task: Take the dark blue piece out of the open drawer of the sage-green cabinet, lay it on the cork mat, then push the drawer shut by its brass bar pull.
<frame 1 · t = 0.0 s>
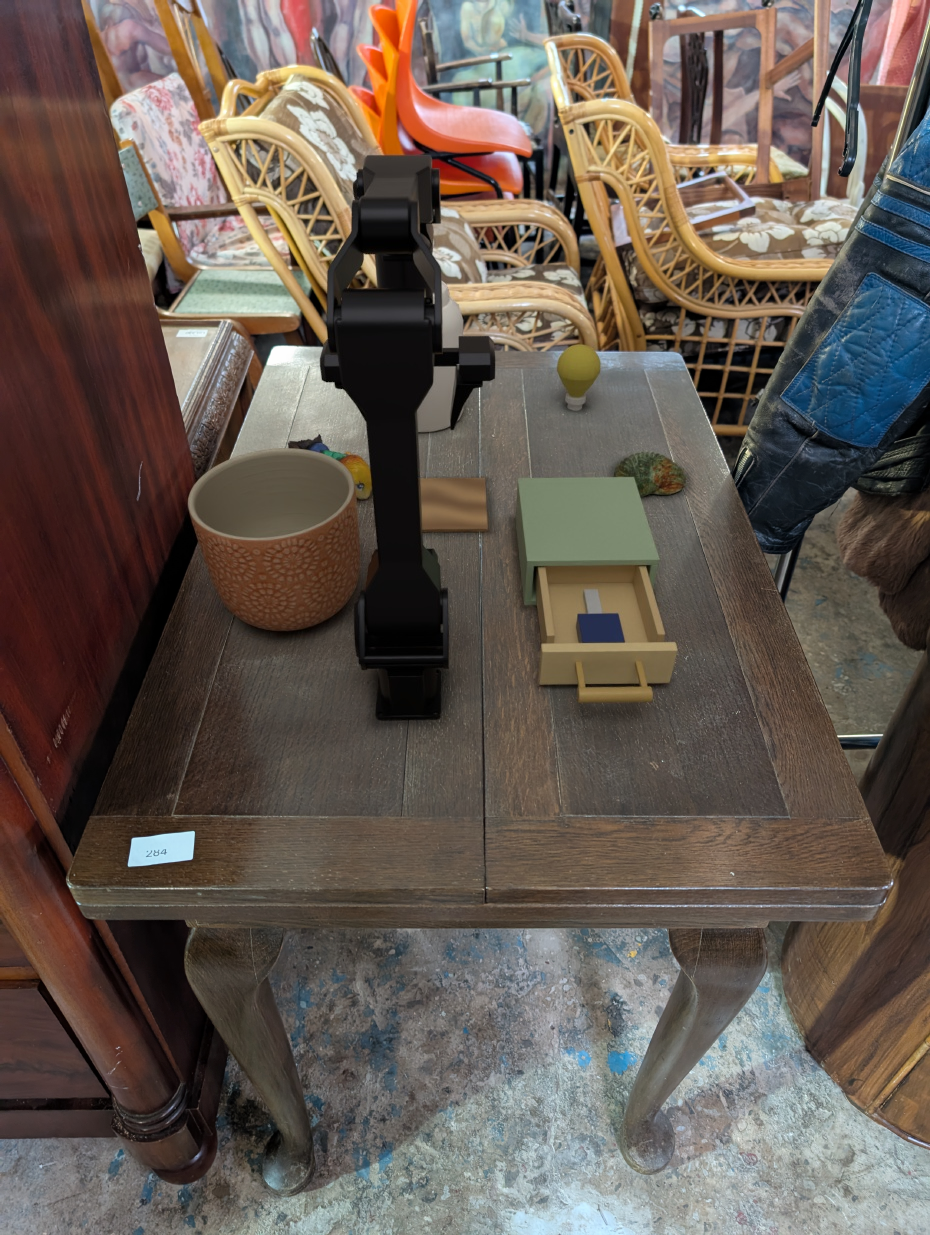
hand: (412, 428, 92), 15 cm above the table, tool pointing down, fingers open, 9 cm apart
light bulb: (574, 408, 127), on the table
figurine: (333, 487, 110), on the table
mat: (441, 505, 106), on the table
planter: (294, 601, 92), on the table
can: (423, 415, 125), on the table
dark blue piece: (595, 626, 86), point 2 cm above the table, touching drawer
cabinet: (578, 560, 98), on the table
seashell: (648, 480, 111), on the table
drawer: (600, 631, 84), point 3 cm above the table, slide at 12.0 cm, touching dark blue piece
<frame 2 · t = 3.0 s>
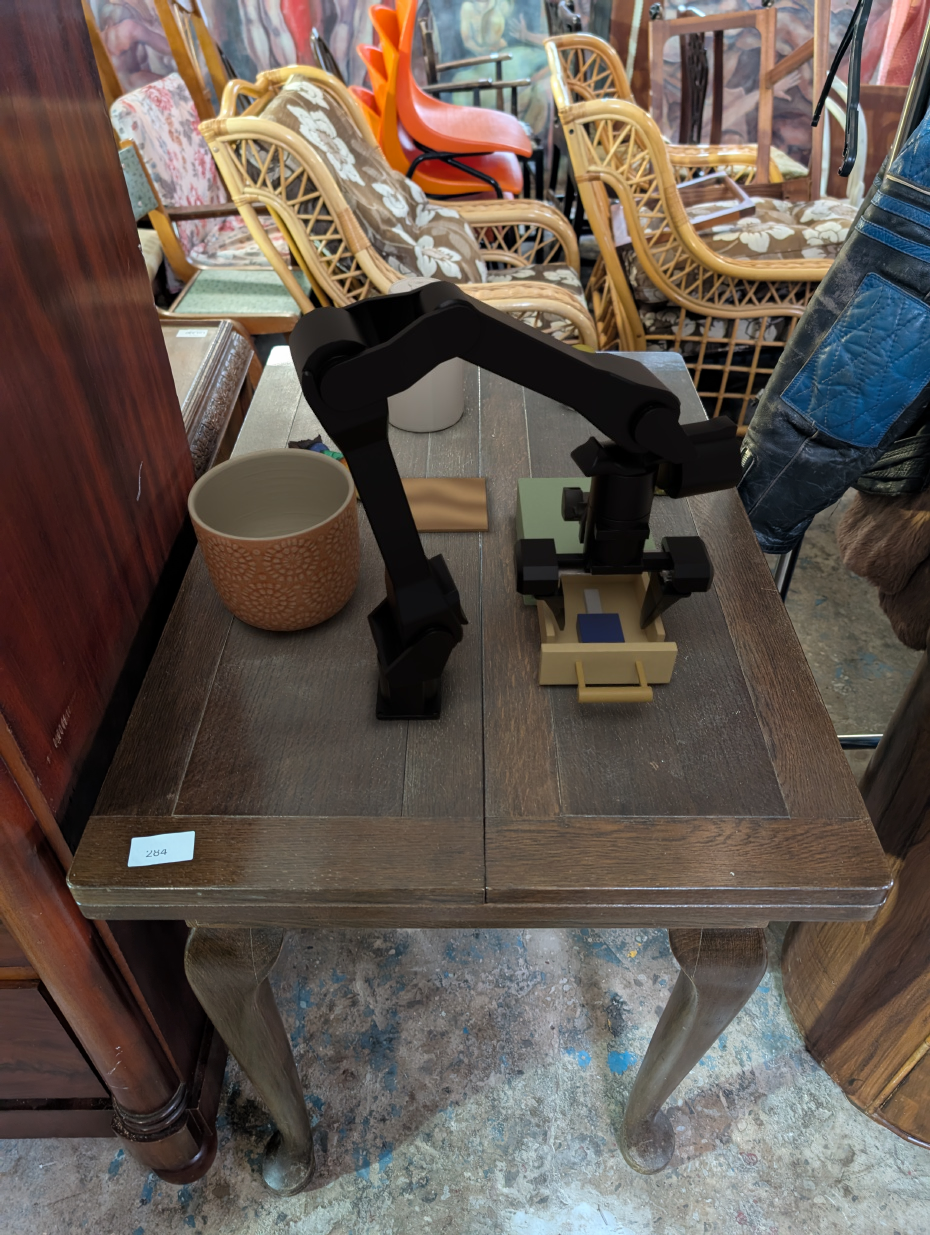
hand: (601, 627, 83), 4 cm above the table, tool pointing down, fingers open, 8 cm apart
drawer: (600, 631, 84), point 3 cm above the table, slide at 12.0 cm, touching gripper, dark blue piece
everything else where it was.
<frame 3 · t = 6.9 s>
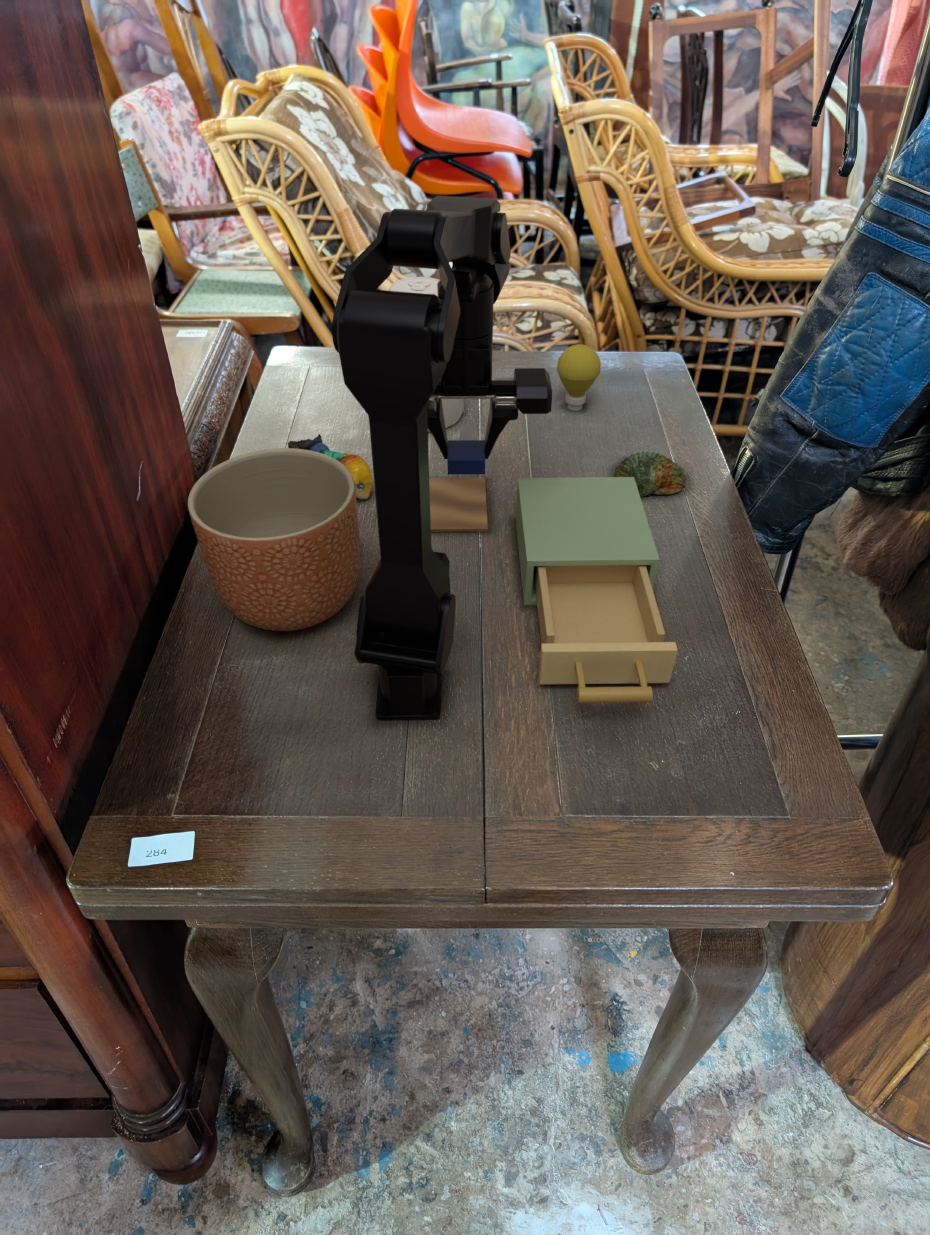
hand: (466, 457, 94), 11 cm above the table, tool pointing down, fingers closed on dark blue piece, 4 cm apart
dark blue piece: (466, 454, 96), point 10 cm above the table, touching gripper
drawer: (600, 631, 84), point 3 cm above the table, slide at 12.0 cm
everything else where it was.
when the fingers open (2 cm above the table, at t = 10.0 s): dark blue piece stays where it is, resting on mat.
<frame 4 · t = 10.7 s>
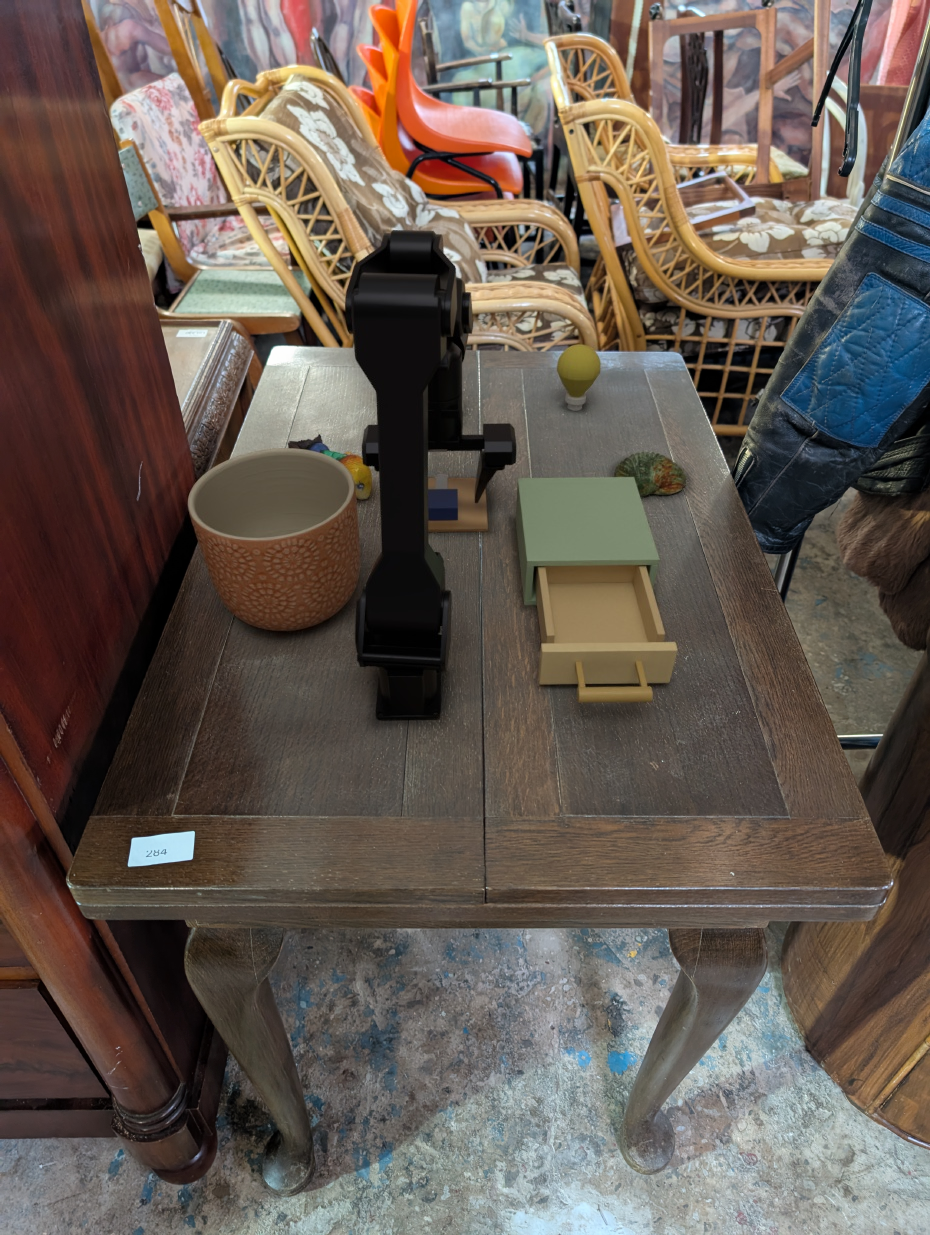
hand: (441, 501, 104), 2 cm above the table, tool pointing down, fingers open, 9 cm apart
dark blue piece: (441, 501, 106), resting on mat
everything else where it was.
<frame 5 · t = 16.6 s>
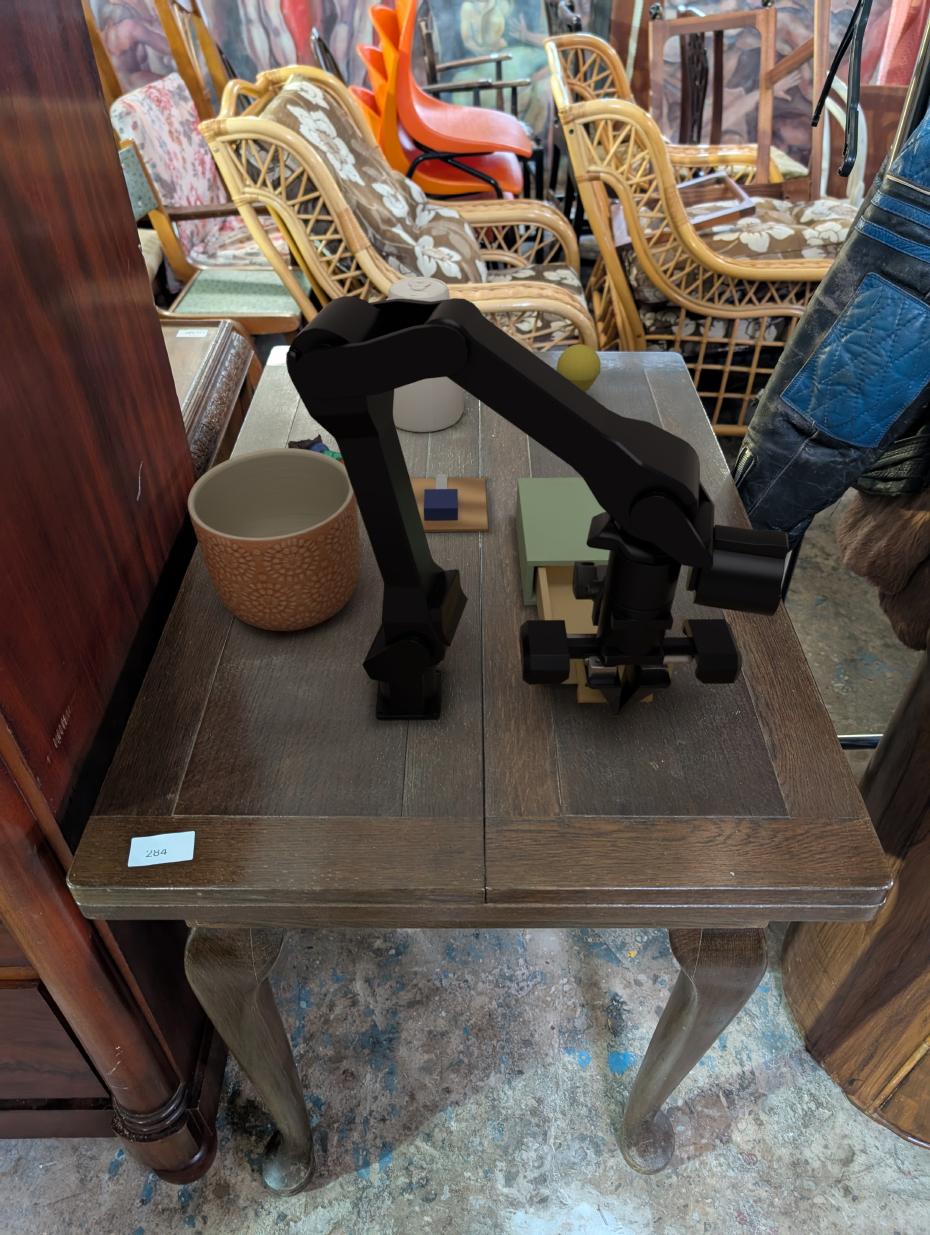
hand: (615, 712, 76), 3 cm above the table, tool pointing down, fingers closed, pressing on drawer
drawer: (599, 631, 84), point 3 cm above the table, slide at 11.9 cm, touching gripper
everything else where it was.
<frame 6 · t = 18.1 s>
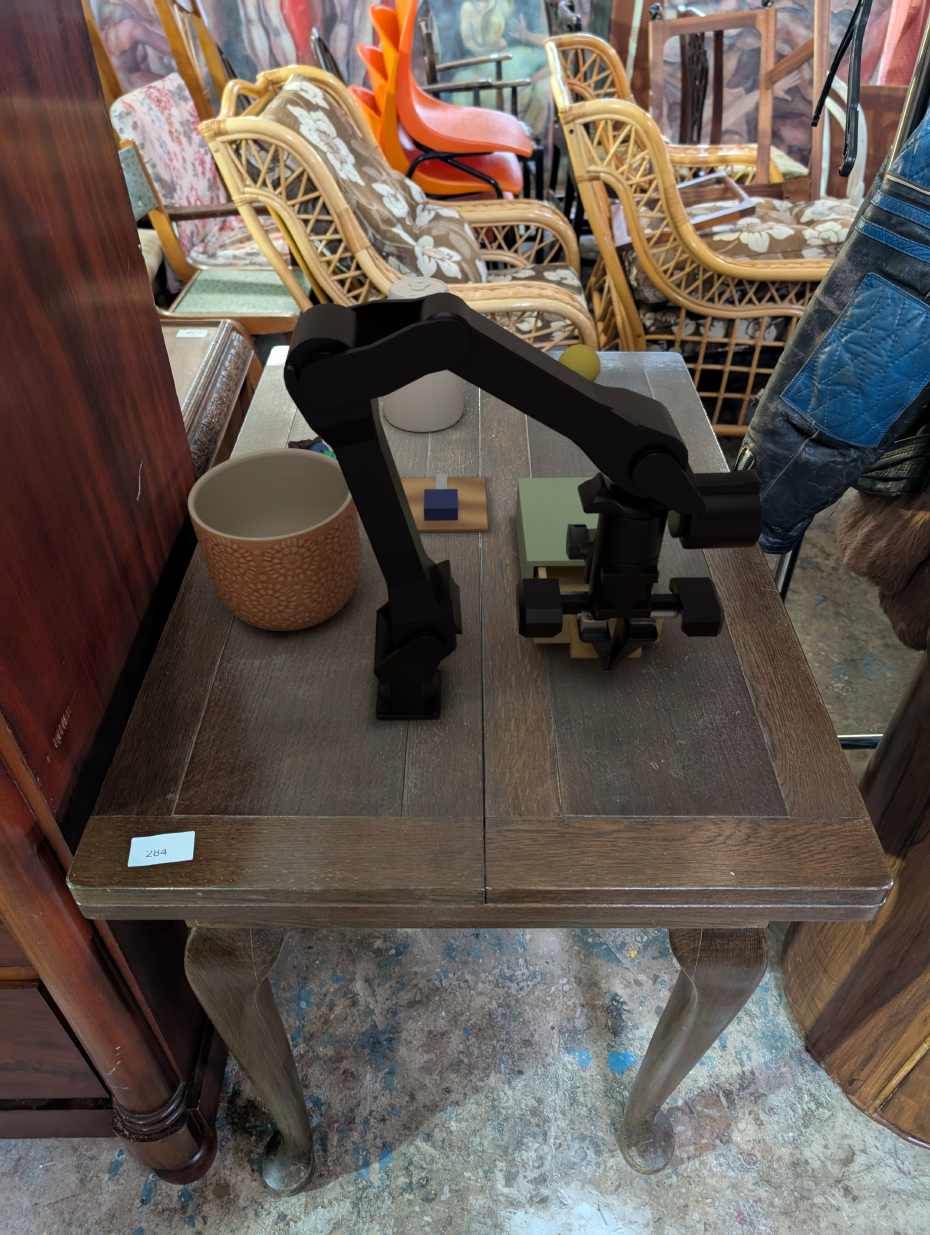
hand: (606, 668, 80), 3 cm above the table, tool pointing down, fingers closed, pressing on drawer
drawer: (592, 594, 88), point 3 cm above the table, slide at 6.0 cm, touching gripper
everything else where it was.
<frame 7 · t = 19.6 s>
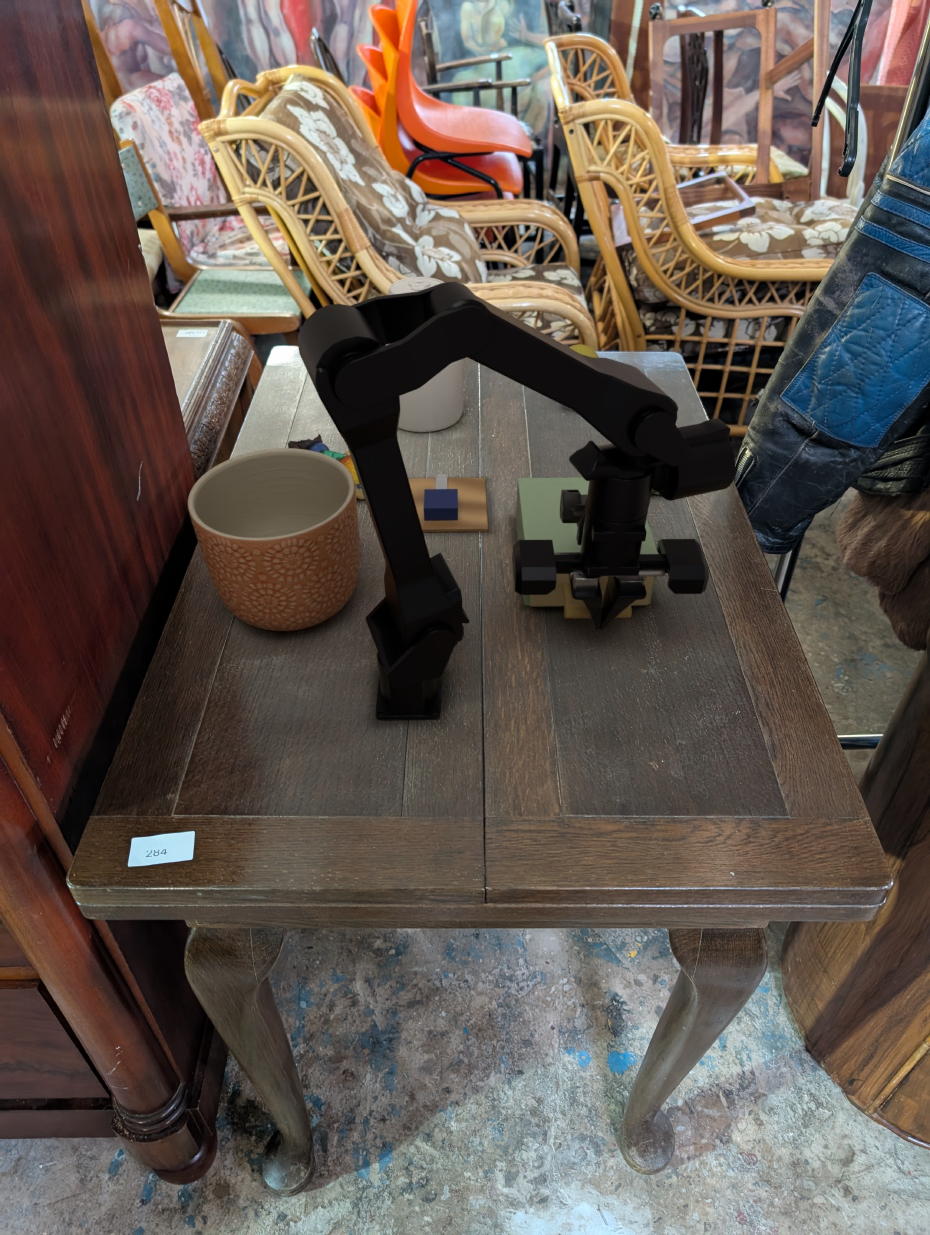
hand: (598, 627, 84), 3 cm above the table, tool pointing down, fingers closed, pressing on drawer
drawer: (585, 560, 92), point 3 cm above the table, slide at 0.0 cm, touching gripper
everything else where it was.
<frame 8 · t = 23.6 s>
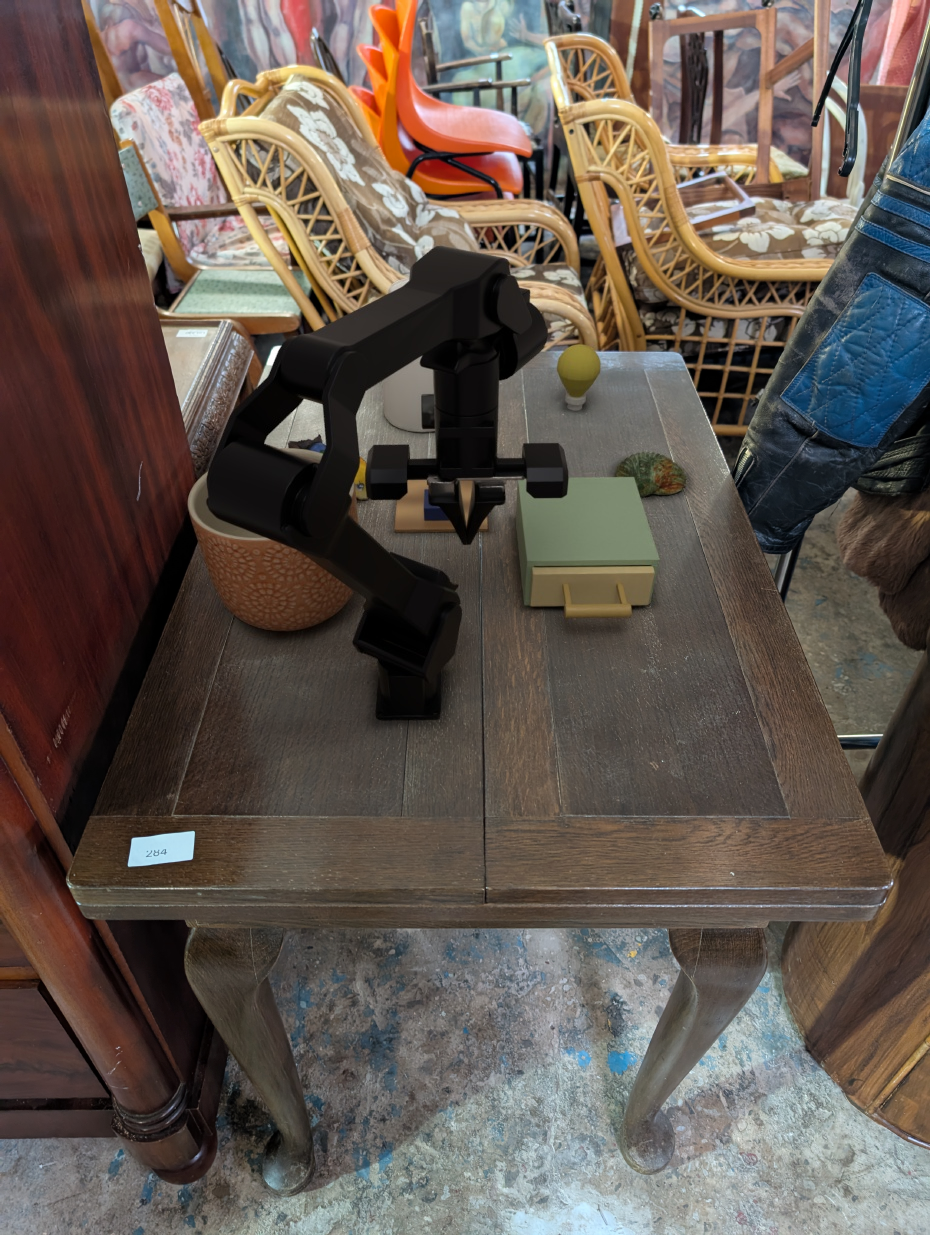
hand: (466, 542, 81), 12 cm above the table, tool pointing down, fingers closed
drawer: (585, 560, 92), point 3 cm above the table, slide at 0.0 cm, touching cabinet
everything else where it was.
at the end: dark blue piece inside the target area on the mat (0.3 cm from its centre), point 0.5 cm above the mat's base; the gripper is holding nothing; drawer slide at 0.0 cm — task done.
